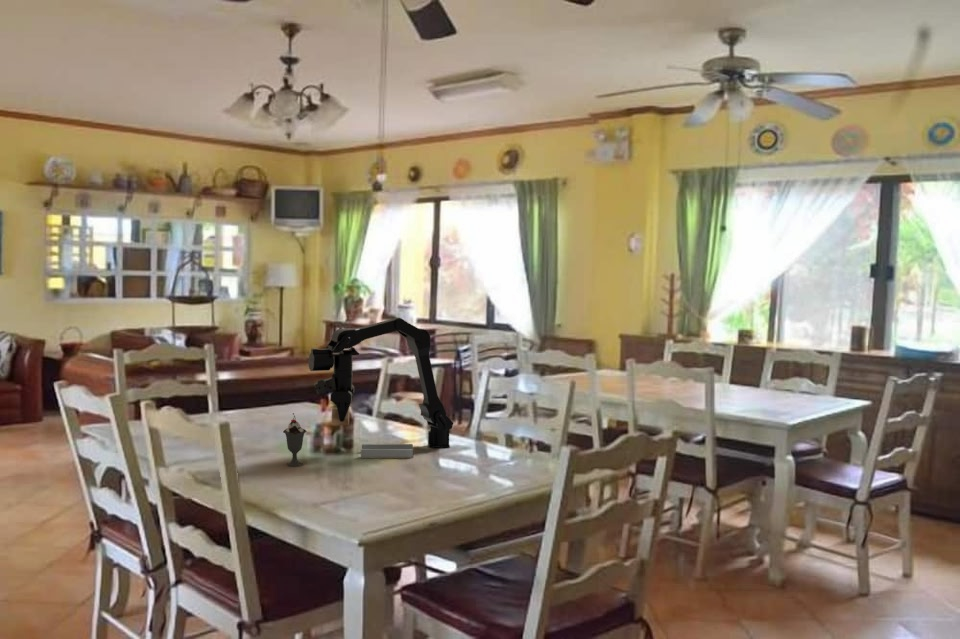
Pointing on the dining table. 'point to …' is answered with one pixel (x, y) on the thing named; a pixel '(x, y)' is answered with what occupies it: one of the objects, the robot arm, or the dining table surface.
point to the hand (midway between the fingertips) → (342, 419)
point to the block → (336, 417)
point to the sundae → (294, 441)
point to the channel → (387, 451)
